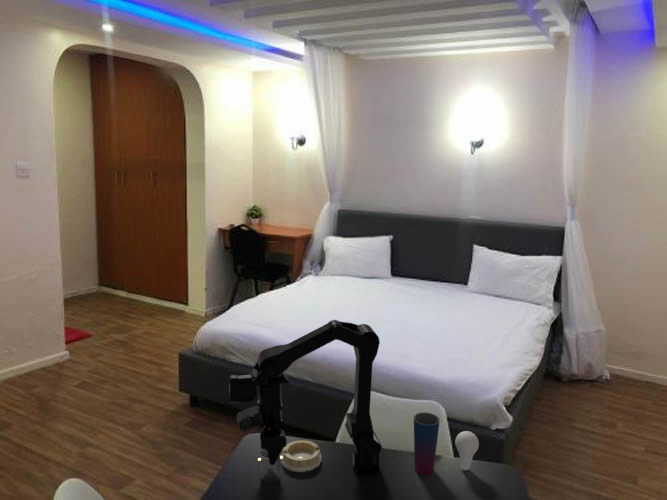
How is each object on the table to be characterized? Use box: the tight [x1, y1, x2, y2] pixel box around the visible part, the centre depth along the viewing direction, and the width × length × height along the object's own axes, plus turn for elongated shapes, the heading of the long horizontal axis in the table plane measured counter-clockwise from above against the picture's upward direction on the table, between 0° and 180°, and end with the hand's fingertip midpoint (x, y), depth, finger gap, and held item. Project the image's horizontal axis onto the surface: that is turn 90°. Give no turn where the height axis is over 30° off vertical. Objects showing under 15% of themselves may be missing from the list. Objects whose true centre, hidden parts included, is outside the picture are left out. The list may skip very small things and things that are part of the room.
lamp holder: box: [280, 439, 322, 473], centre depth 153 cm, size 11×11×4 cm
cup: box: [413, 411, 441, 476], centre depth 149 cm, size 7×7×15 cm
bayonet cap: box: [257, 448, 283, 484], centre depth 145 cm, size 6×5×7 cm
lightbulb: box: [454, 430, 480, 471], centre depth 149 cm, size 6×6×11 cm
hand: (270, 454), depth 145 cm, fingers open, 9 cm apart
